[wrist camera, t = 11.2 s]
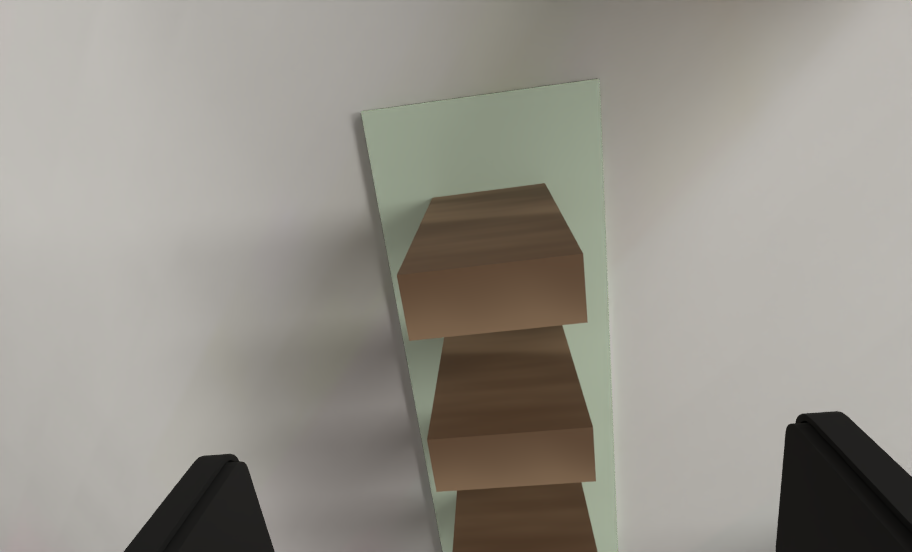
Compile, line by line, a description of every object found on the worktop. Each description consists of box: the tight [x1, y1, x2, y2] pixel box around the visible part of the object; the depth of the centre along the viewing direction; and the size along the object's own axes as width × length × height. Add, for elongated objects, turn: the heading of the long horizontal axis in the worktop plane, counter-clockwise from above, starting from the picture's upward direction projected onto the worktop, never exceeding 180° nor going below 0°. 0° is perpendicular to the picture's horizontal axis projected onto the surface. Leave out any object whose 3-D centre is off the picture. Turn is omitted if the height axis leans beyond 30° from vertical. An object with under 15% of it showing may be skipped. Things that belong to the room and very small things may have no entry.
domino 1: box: [397, 183, 588, 341], centre depth 23 cm, size 2×6×12 cm, turn 98°
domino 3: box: [452, 482, 598, 552], centre depth 28 cm, size 2×6×12 cm, turn 98°
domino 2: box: [427, 325, 596, 492], centre depth 25 cm, size 2×6×12 cm, turn 98°
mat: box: [361, 79, 618, 552], centre depth 33 cm, size 38×12×1 cm, turn 8°
